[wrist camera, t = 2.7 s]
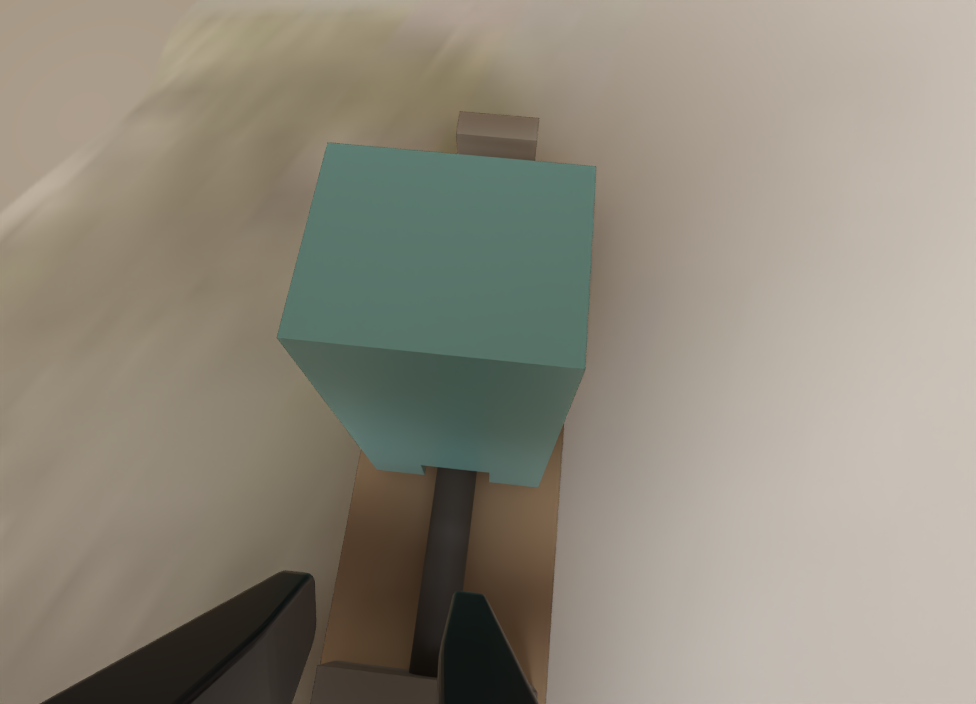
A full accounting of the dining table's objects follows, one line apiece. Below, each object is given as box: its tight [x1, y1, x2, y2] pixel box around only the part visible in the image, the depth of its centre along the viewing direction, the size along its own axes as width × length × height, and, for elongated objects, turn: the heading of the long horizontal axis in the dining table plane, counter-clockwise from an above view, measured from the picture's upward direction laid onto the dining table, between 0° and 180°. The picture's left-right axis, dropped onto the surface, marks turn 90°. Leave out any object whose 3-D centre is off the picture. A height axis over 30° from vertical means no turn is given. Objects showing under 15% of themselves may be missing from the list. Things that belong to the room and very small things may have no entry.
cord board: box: [310, 111, 564, 704], centre depth 20 cm, size 20×6×4 cm, turn 174°
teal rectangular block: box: [277, 143, 596, 487], centre depth 16 cm, size 4×5×10 cm
